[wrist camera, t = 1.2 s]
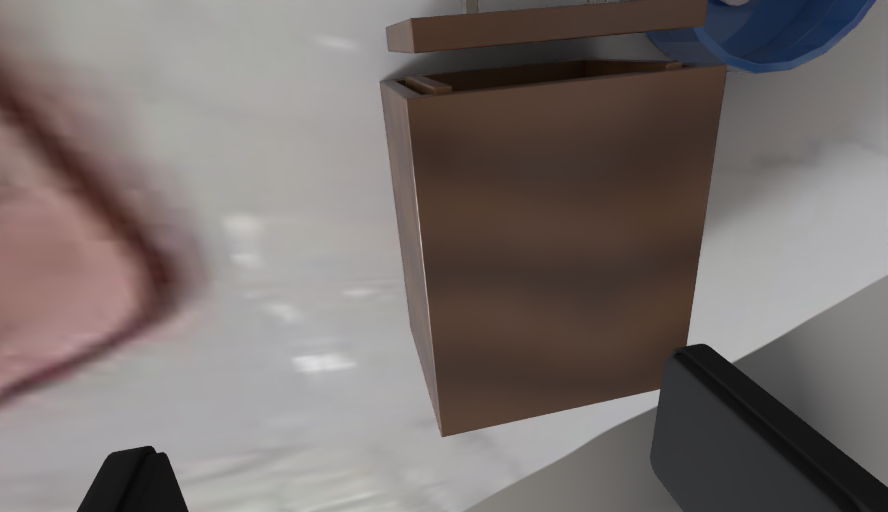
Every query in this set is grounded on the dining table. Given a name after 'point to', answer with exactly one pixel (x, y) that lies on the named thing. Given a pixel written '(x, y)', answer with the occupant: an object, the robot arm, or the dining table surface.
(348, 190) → the dining table surface
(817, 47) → the bowl
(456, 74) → the drawer
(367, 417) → the dining table surface
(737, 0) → the pacifier
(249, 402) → the dining table surface
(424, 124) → the cabinet
